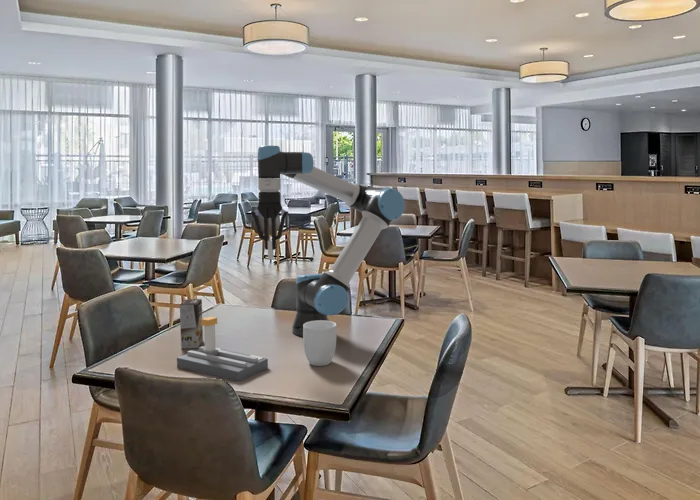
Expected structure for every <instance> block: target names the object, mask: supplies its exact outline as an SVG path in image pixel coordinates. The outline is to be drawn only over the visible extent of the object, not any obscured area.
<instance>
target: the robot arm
mask: <svg viewBox="0 0 700 500" xmlns="http://www.w3.org/2000/svg"><path fill="white" fill-rule="evenodd" d="M257 148H258V149H257V159H256V160H257V174H258V176H257V177H258V179H257V181H258V183H257V184H258V191H259V192H258V205H257V207H256V209H255V210H252V211H251V212H250V213H251V214H250V215H252V217H253V219H254V224H255V226H256V230H257V234H258V237H259V240H260V239H261V240H263V241H264V250H266V251H267V260H268V261H269V260H274V250H276V249H277V240H279V239H282V236H283V232H284V226H285V222H286V218H287V216H288V215H289V211H288V210H285V209H284V208H283V206H282V204H281V202H282V201H281V200H282V199H281V197H282V196H281V191H280V190H281V175H283V176H285V177H286V178H287V177H288V178H290V179H293V180H294V181H298V182H299V183H302V184H304V185H306V186H308V187H310V188H313V189H315V190H317V191H320V192H322V193H324V194H325V195H328V196H331V197H333V198H336V199H338V200H340V201H342V202H344V203H345V205H346V207H350V208H352V209H353V210H355V211H358V212H360V213H361V215H362V218H361V220H360V221H359V223H358V225H356V227H355V230H354V231H353V232H352V234H351V236H350V237H349V239H348V241H347V242H346V243H345V245H344V247H343V248H342V250H341V252H340V253H339V255H338V257H337V259H336V260H335V261H334V263H333V265H332V267H331V268H330V270H326V271H324V272H323V273H308V274H300V275H298V276H297V277H296V281H295V294H296V295H295V299H296V301H295V302H296V303H295V305H296V312H295V317H294V319H293V322H292V323H293V324H292V327H291V330H292V331H291V332H292V334H294V335H295V336H300V337H303V325H304V323H306V322H310V321H317V320H325V321H330V320H329V317H328V316H335V315H338V314H340V313H341V312H342V311H344V310H345V308H346V307H347V305H348V301H349V297H348V293H349V291H350V290H351V284H350V281H351V280H352V279H353V278H354V275H355V274H356V272H357V271H358V269H359V267H361V264H362V262H363V261H364V259H365V258H366V256H367V254H368V253H369V251H370V250H371V248H372V246H373V244H374V243H375V241H376V239H377V238H378V237H379V235H380V234H381V231H382V230H385V229H388V228H389V226H390V224H392V221H395V220H397V219H399V218H401V216H402V215H403V213H404V211H405V207H406V206H405V204H406V203H405V199H404V196H403V194H402V193H401V192H400V191H399V190H398V189H395V188H391V187H372V186H364V185H362V184H359V183H351V182H348V181H346V180H344V179H342V178H340V177H338V176H335V175H333V174H331V173H329V172H327V171H325V170H323V169H320V168H318V167H316V166H315V165H314V164H315V163H314V156H313V155H312V154H311V152H304V151H290V152H289V151H281V149H280V146H279V145H260V146H258V147H257ZM260 214H261V216H262V218H263V225H264V227H263V228H262V224H261V220H260V217H259V215H260ZM279 214H280V216H281V218H280V222H279V226H278V231H277V217H278V216H279ZM269 221H271V239H270V238H269V237H270V226H269V225H270V222H269ZM263 229H264V231H263Z"/></svg>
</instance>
